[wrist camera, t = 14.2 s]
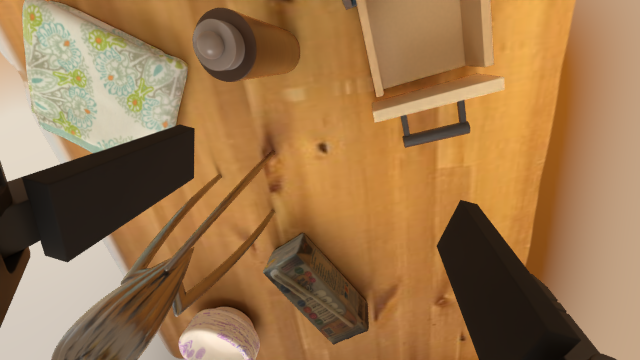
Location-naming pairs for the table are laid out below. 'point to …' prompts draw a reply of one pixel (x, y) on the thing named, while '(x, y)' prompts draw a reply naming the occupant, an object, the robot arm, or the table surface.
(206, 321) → the paper bowls
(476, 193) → the table surface
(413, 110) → the drawer
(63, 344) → the tripod lemon squeezer
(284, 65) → the pepper mill
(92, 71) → the towel
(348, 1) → the cabinet
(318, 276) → the beverage carton
